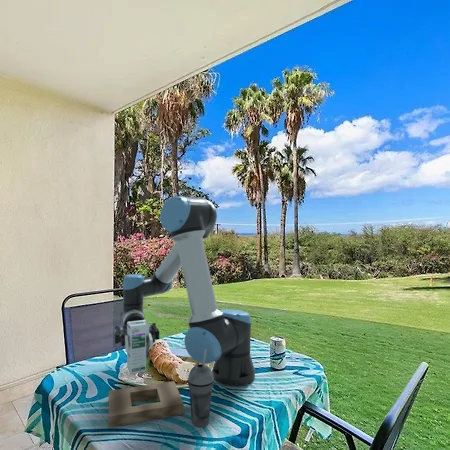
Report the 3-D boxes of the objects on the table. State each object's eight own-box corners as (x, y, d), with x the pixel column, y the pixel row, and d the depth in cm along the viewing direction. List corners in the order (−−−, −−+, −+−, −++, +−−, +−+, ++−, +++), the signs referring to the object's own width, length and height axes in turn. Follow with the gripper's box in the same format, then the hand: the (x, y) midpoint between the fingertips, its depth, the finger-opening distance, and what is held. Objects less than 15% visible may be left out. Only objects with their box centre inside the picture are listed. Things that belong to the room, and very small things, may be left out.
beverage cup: (187, 414, 94) (188, 344, 94) (213, 413, 95) (214, 343, 94) (186, 431, 87) (187, 354, 87) (214, 429, 87) (215, 354, 87)
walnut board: (174, 390, 107) (174, 381, 107) (183, 414, 94) (183, 403, 94) (108, 400, 101) (108, 390, 101) (108, 427, 88) (108, 416, 88)
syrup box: (130, 375, 98) (130, 326, 98) (126, 367, 104) (126, 320, 104) (149, 371, 101) (149, 323, 101) (144, 363, 106) (145, 318, 106)
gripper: (161, 330, 122) (172, 354, 101) (106, 336, 116) (104, 362, 94) (161, 310, 122) (172, 330, 100) (106, 314, 116) (104, 336, 94)
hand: (139, 345), depth 97 cm, fingers closed on syrup box, 6 cm apart
